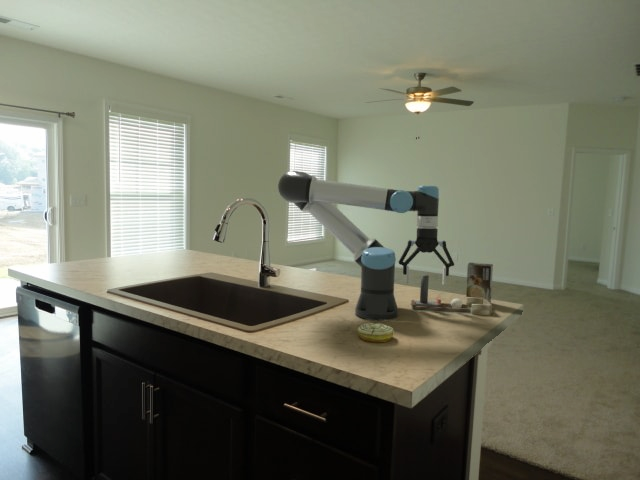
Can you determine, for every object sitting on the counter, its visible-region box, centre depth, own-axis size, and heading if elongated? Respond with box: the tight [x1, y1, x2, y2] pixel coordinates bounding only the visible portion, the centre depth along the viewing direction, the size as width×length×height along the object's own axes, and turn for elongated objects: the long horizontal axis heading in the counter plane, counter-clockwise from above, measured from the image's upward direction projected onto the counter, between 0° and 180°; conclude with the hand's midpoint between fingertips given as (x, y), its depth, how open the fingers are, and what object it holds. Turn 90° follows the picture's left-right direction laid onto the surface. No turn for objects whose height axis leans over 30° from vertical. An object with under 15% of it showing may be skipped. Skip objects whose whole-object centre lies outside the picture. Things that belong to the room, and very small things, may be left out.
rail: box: [410, 299, 471, 313], centre depth 171 cm, size 21×8×2 cm, turn 82°
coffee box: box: [465, 262, 494, 305], centre depth 180 cm, size 9×6×16 cm
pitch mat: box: [410, 304, 472, 315], centre depth 170 cm, size 28×12×1 cm, turn 82°
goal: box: [465, 296, 493, 316], centre depth 169 cm, size 7×12×4 cm, turn 172°
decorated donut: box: [357, 322, 395, 343], centre depth 135 cm, size 10×11×4 cm
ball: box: [450, 298, 463, 308], centre depth 170 cm, size 4×4×4 cm
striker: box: [414, 274, 442, 307], centre depth 171 cm, size 9×5×12 cm, turn 82°
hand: (425, 283), depth 171 cm, fingers open, 13 cm apart
